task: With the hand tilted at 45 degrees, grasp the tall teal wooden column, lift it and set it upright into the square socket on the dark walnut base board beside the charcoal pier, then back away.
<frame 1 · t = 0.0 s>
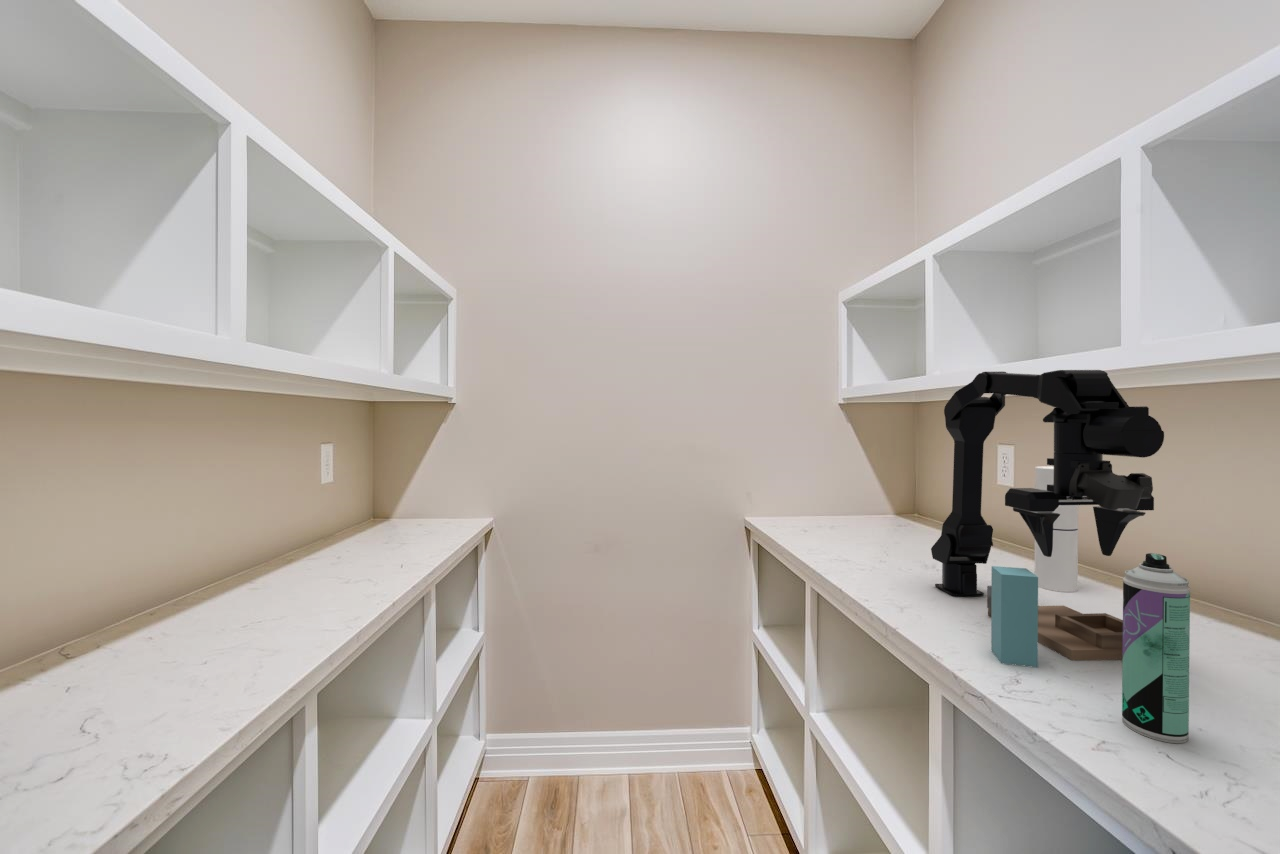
hand: (1077, 555, 81), 15 cm above the worktop, tool pointing down, fingers open, 9 cm apart
cylindrical container: (1055, 587, 112), on the worktop
teal column: (1013, 658, 79), on the worktop
walnut base board: (1067, 634, 87), on the worktop
spray can: (1154, 730, 61), on the worktop
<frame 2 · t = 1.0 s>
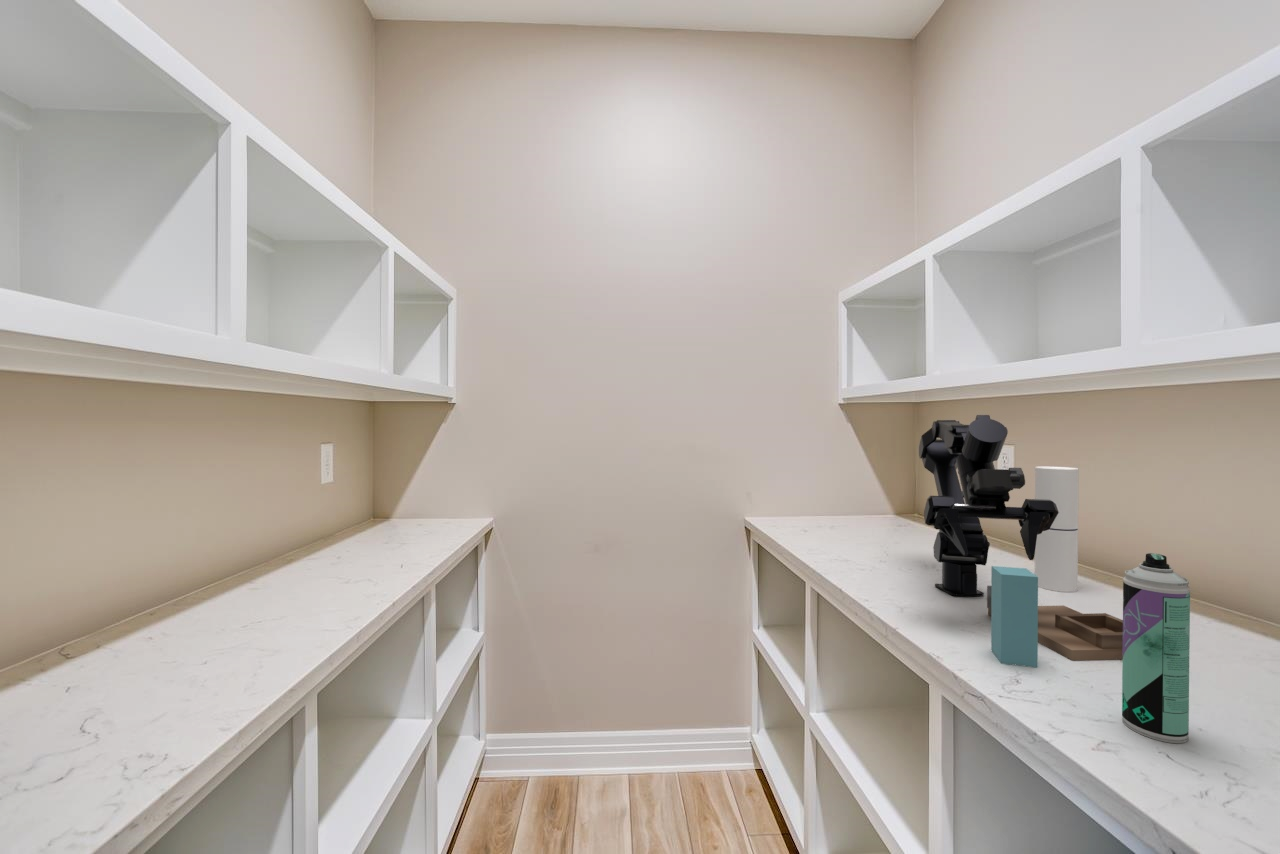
hand: (998, 556, 86), 13 cm above the worktop, tool tilted 45°, fingers open, 9 cm apart
nothing on the worktop moved.
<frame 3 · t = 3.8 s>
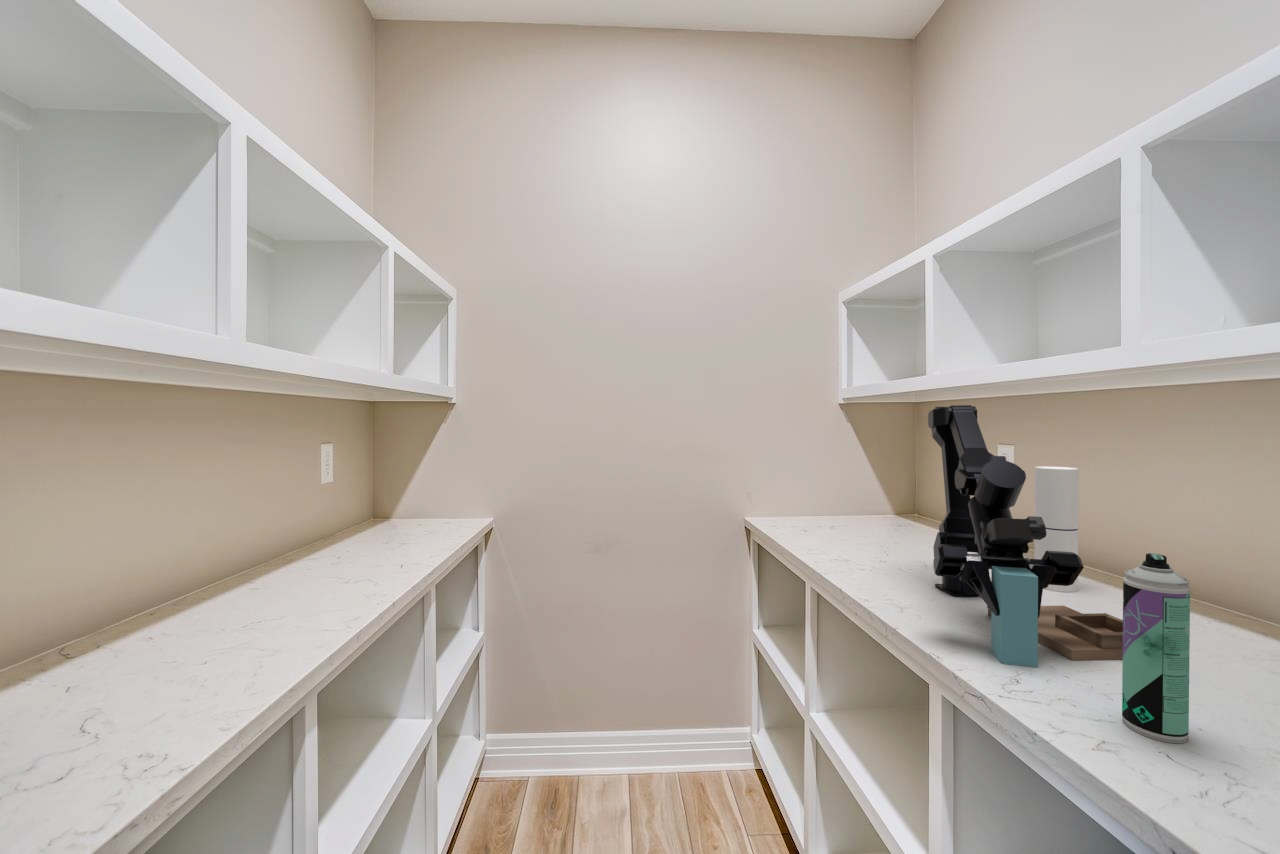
hand: (1017, 616, 77), 7 cm above the worktop, tool tilted 45°, fingers closed on teal column, 4 cm apart
teal column: (1013, 658, 79), on the worktop, touching gripper
everything else where it was.
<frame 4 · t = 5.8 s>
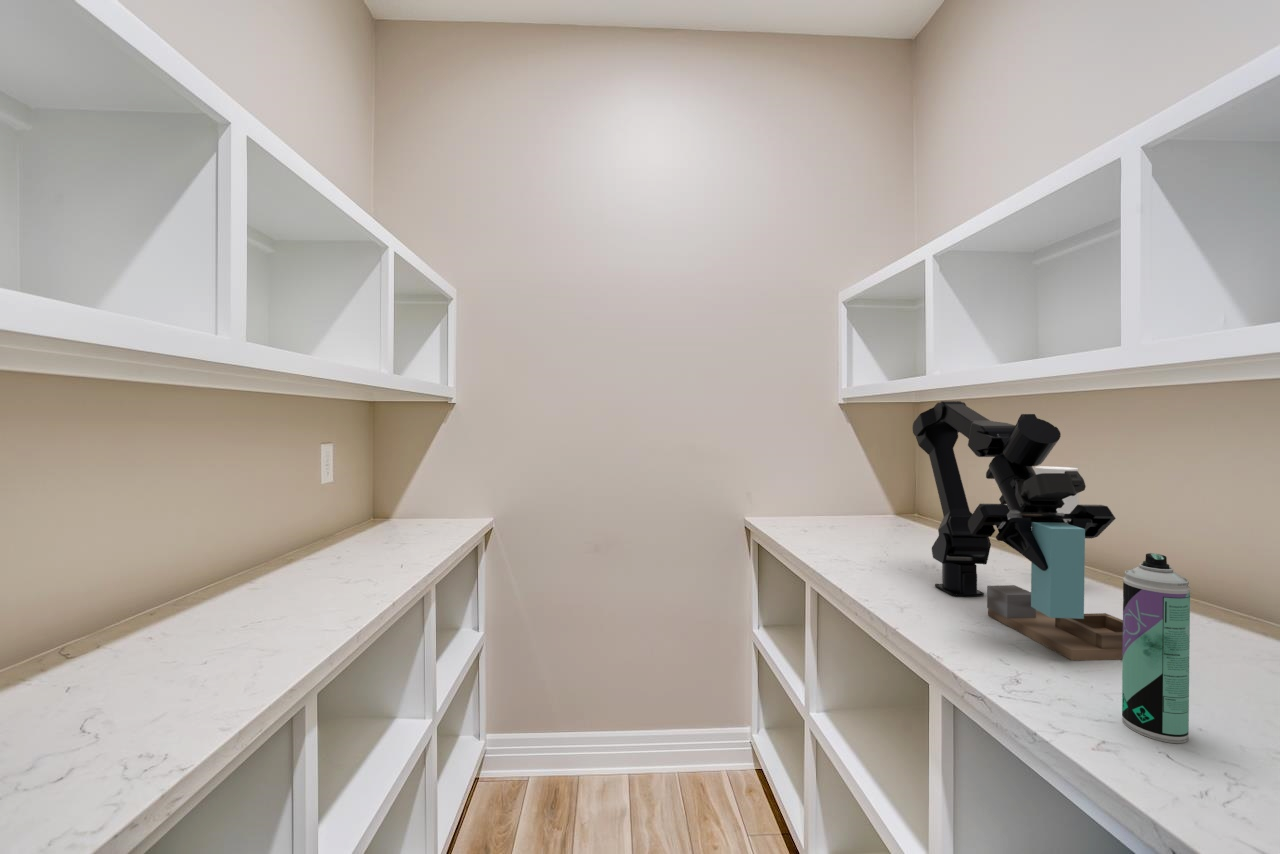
hand: (1063, 569, 78), 13 cm above the worktop, tool tilted 45°, fingers closed on teal column, 4 cm apart
teal column: (1056, 612, 79), point 7 cm above the worktop, touching gripper
everything else where it was.
when the fingers open (9 cm above the worktop, at t = 8.0 s): teal column drops 1 cm, resting on walnut base board.
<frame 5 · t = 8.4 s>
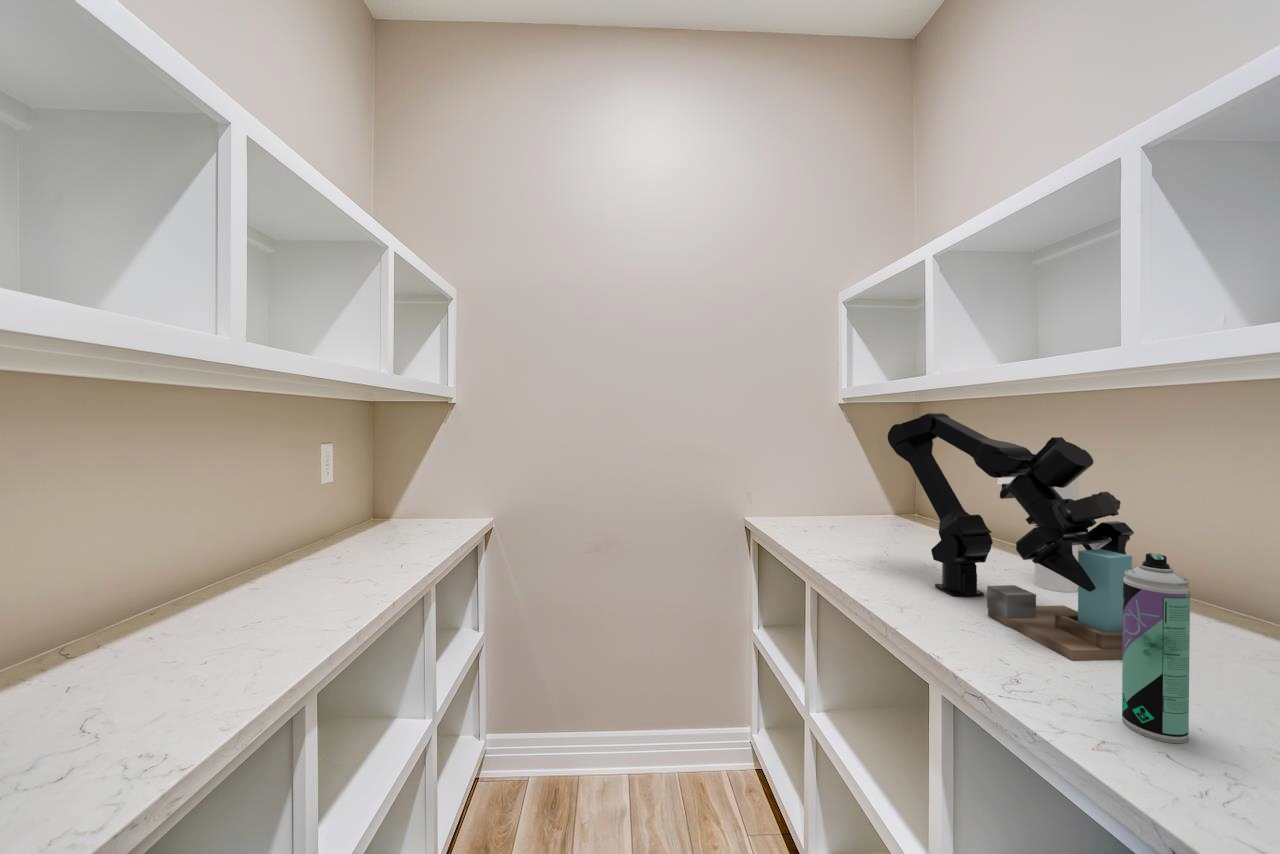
hand: (1114, 587, 81), 10 cm above the worktop, tool tilted 45°, fingers open, 8 cm apart
teal column: (1104, 636, 83), point 1 cm above the worktop, touching walnut base board
everything else where it was.
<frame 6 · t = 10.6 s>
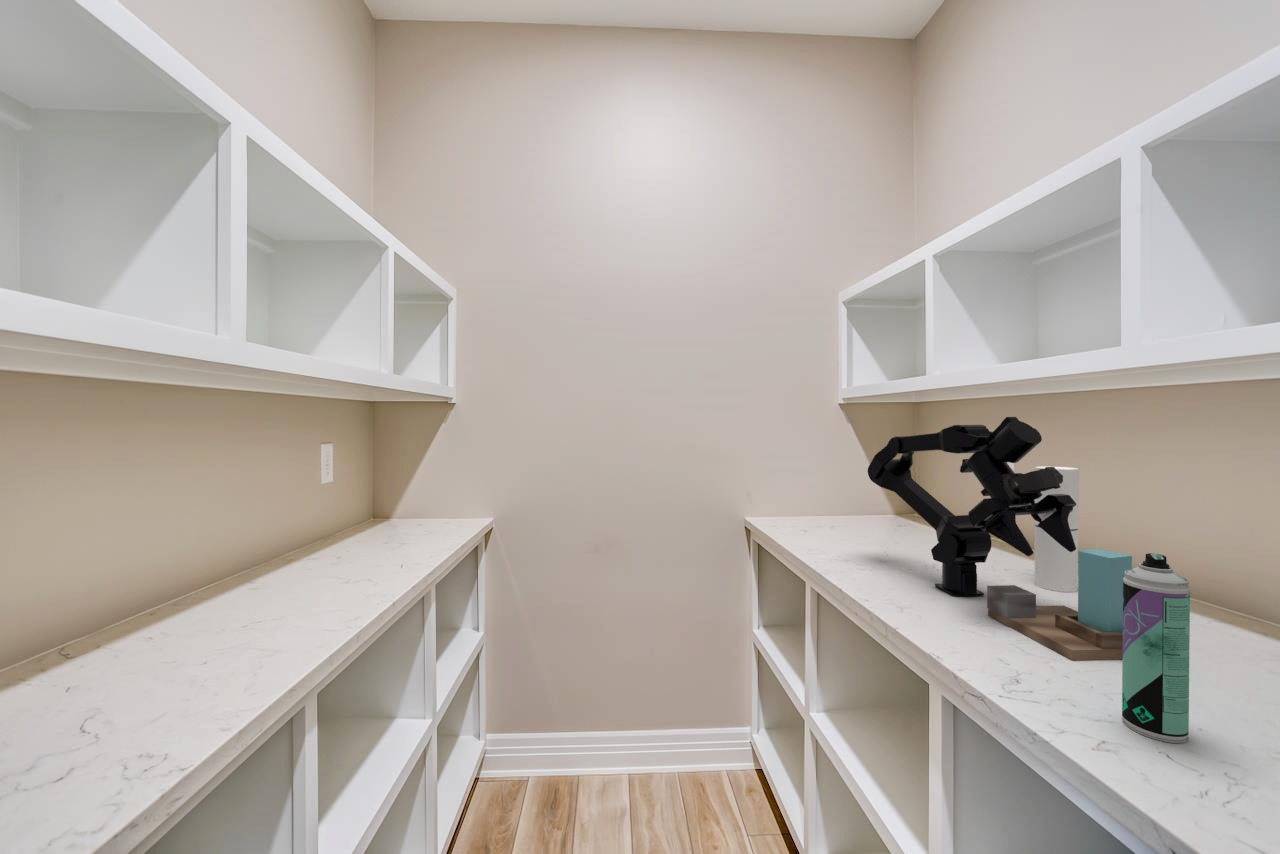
hand: (1052, 552, 90), 13 cm above the worktop, tool tilted 40°, fingers open, 9 cm apart
nothing on the worktop moved.
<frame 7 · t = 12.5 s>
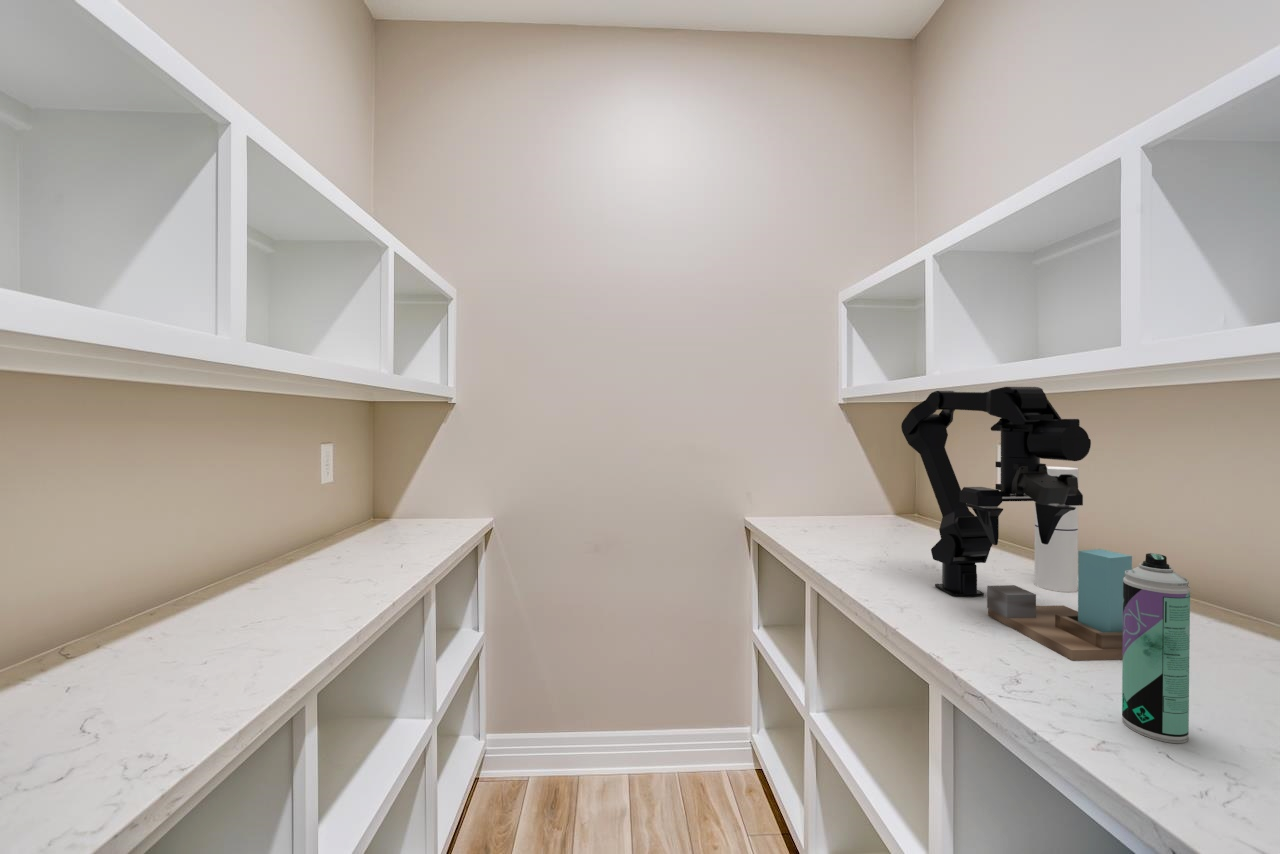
hand: (1019, 544, 95), 13 cm above the worktop, tool pointing down, fingers open, 9 cm apart
nothing on the worktop moved.
at the end: teal column 0.0 cm from the target spot on the walnut base board, point 1.5 cm above the walnut base board's base; teal column tilted 0°; the gripper is holding nothing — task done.
